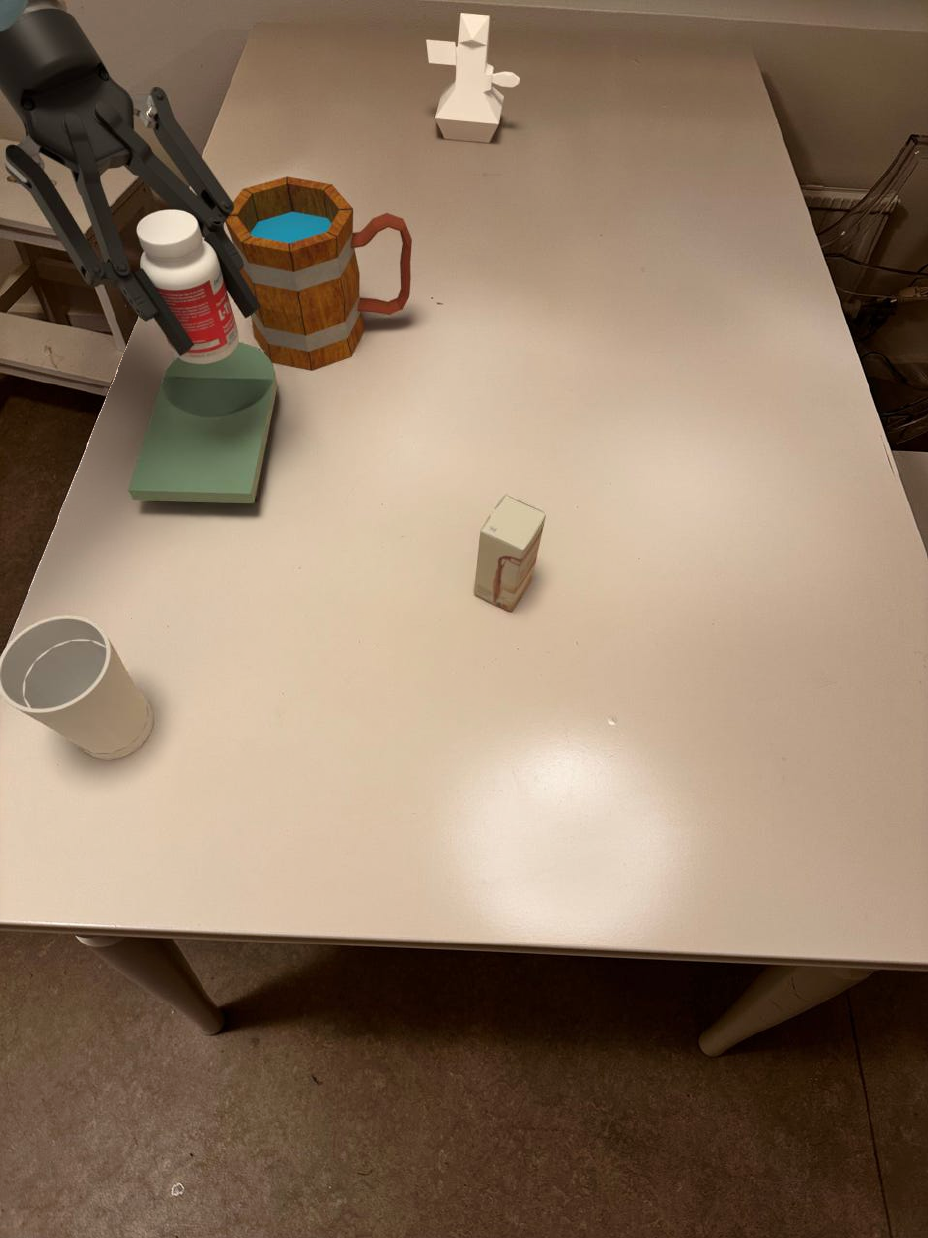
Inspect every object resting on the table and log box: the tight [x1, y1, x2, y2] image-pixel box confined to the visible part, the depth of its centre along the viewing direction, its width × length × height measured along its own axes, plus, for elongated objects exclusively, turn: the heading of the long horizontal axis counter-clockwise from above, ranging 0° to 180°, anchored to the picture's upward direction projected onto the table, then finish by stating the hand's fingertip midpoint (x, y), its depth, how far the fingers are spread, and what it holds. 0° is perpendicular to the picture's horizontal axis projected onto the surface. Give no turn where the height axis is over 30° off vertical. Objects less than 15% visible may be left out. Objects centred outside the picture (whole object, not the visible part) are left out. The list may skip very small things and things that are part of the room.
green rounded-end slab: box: [127, 341, 278, 504], centre depth 80 cm, size 22×12×4 cm, turn 179°
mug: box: [224, 175, 413, 371], centre depth 84 cm, size 20×14×15 cm
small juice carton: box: [473, 493, 547, 612], centre depth 68 cm, size 5×4×10 cm
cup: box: [0, 614, 155, 761], centre depth 59 cm, size 8×8×12 cm
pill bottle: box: [136, 209, 240, 364], centre depth 62 cm, size 6×6×11 cm
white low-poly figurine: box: [426, 12, 521, 144], centre depth 109 cm, size 8×14×14 cm, turn 83°
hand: (220, 330), depth 63 cm, fingers closed on pill bottle, 6 cm apart
